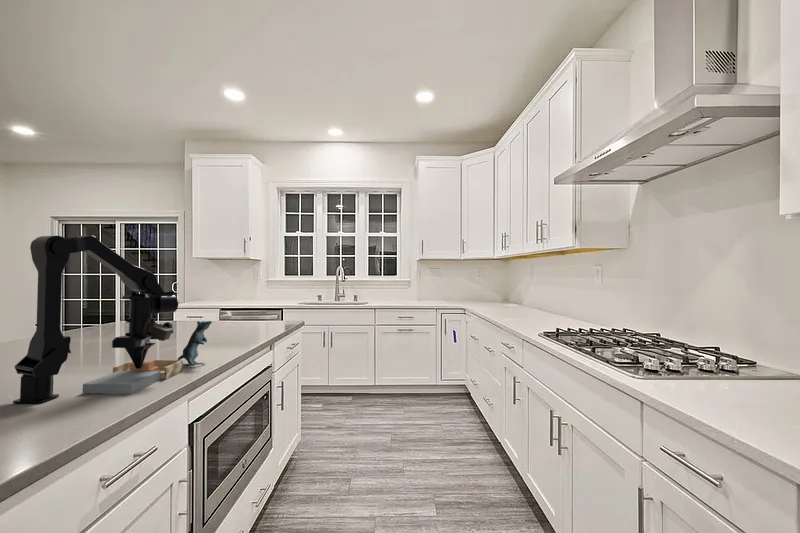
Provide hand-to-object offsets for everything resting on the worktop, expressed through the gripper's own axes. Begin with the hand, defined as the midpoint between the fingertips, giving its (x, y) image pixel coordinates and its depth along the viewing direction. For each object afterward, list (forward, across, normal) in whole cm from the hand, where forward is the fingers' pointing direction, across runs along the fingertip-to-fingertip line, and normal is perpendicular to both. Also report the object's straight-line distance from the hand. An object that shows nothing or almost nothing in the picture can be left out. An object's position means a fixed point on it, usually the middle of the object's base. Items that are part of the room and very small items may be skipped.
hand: (138, 368), depth 132 cm
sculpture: (+3, +23, -7) cm, 24 cm away
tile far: (+3, +5, 0) cm, 5 cm away
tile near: (+1, +4, +1) cm, 4 cm away
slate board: (+3, -8, 0) cm, 9 cm away
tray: (+3, +6, 0) cm, 7 cm away
